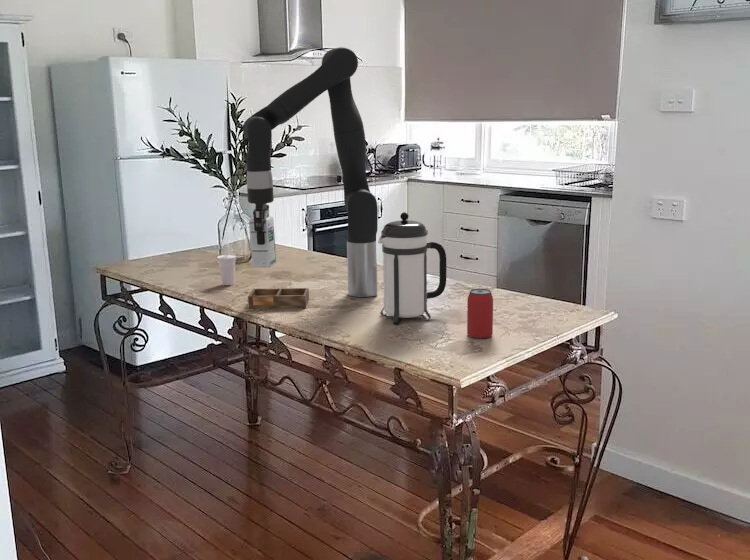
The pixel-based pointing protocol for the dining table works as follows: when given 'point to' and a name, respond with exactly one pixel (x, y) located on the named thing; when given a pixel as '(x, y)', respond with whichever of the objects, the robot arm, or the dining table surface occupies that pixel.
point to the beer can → (480, 313)
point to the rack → (278, 298)
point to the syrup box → (263, 253)
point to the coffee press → (408, 269)
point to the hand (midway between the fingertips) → (263, 242)
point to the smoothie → (227, 267)
